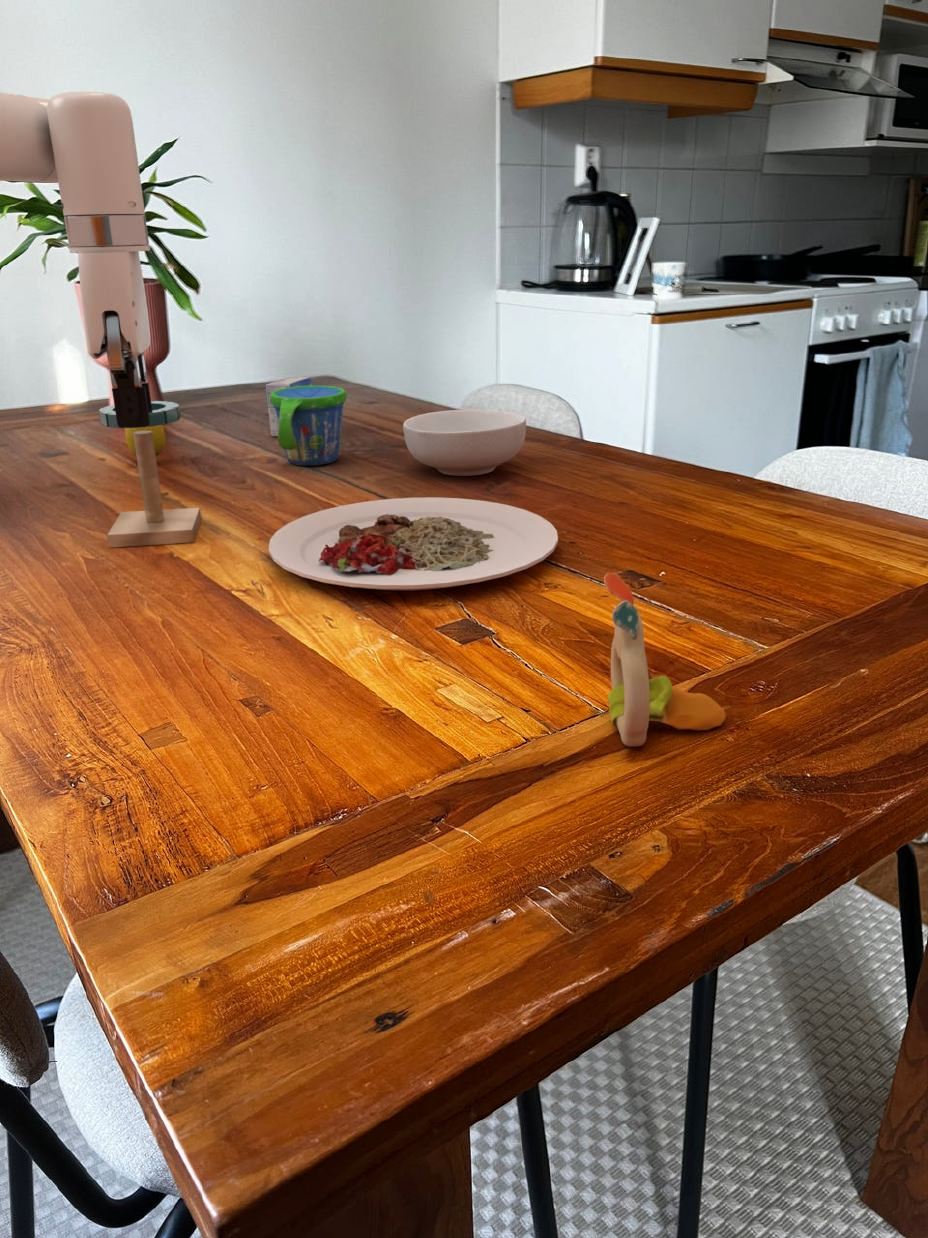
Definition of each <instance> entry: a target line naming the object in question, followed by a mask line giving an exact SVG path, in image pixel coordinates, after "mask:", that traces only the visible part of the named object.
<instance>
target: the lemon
mask: <svg viewBox="0 0 928 1238" xmlns="http://www.w3.org/2000/svg"><path fill="white" fill-rule="evenodd" d="M137 431H152V434H153V441H154V448H155V455H156V457H158V456H160V454H161V453H163V450H164V449H165V447H166V446H165V445H166V432H165V429H164V425H158V426H151V427H148V426H147V427H142V428H124V437H125V442H126V445H127V447H128V449H129V451H130V452H131V453H132V454H133V455H134V456H136V449H135V443H134V436H133V433H134V432H137Z"/></svg>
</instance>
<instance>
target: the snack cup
mask: <svg viewBox="0 0 928 1238" xmlns="http://www.w3.org/2000/svg"><path fill="white" fill-rule="evenodd" d="M347 396H348V395H347V392H346V390H345V389H344V388H342V387H339V386H332V385H312V386H297V387H289V388H283V389H279V390H276V391H273V392H272V393H271V395H270V401H271V404H273V406H274V408H275V410H276V413H277V419H278V421H279V431H278V437H277V443H278V446H279V447H280V448H281V449H283V450H284V452H285V456H286V458H287V462H288V463H291V464H294V465H295V466H301V467H304V466H305V467H314V466H315V467H316V466H324V465H329V464H332V463H334V462H336V460H338V459H339V457H340V451H341V441H342V439H341V438H342V424H343V416H344V415H343V414H344V412H343V411H344V404H345V402H346V400H347Z"/></svg>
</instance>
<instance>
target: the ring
mask: <svg viewBox="0 0 928 1238" xmlns="http://www.w3.org/2000/svg"><path fill="white" fill-rule="evenodd" d="M151 403H152V410H153V411H149V418H150V424H149V425H148V427H151V426H158V425H163V426H164V425H169V424H171V423H176V422H178V421H180V420H181V417H182V416H181V408H180V403H177V402H173V401H165V400H164V401H163V400H154V401H153V400H151ZM97 412H98V417H99V424H100V425H101V426H104V427H107V428H112V429H113V428H114V429H115V428H116V429H121V428H120V427H119V426H118V425H117V419H116V412H115V406H114V404H111V405H107V406H104V407H101V408H100V409H99V410H98V411H97ZM130 428H142V427H130Z"/></svg>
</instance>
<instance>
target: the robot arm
mask: <svg viewBox="0 0 928 1238" xmlns="http://www.w3.org/2000/svg"><path fill="white" fill-rule="evenodd" d="M0 182H23V183H24V182H27V183H28V182H29V183H39V184H40V183H41V184H58V190H59V195H60V196H59V197H60V202H61V209H62V213H63V216H64V217H63V219H64V225H65V232H66V237H67V244H68V250H69V254H78V257H77V258H78V277H79V288H80V297H81V305H82V314H83V322H84V331H85V338H86V339H85V340H86V347H87V352H88V355H89V356H90V357H91V358H92V359H94V360H97V359H100V358H101V357H103V356H105V355H106V357H107V358H106V359H107V364H108V369H109V370H108V371H109V377H110V383H111V392H112V397H113V405H114V406H115V412H116V419H117V425H118V426H119V427H120V428H119V429H125V428H130V427H147V426H148V425H149V424H150V418H149V411H153V410H152V403H151V401H152V398H151V391H150V390H151V389H150V383H149V382H148V376H147V375H148V374H147V369H146V368H147V367H146V361H145V354H144V352H145V351H146V350H147V349H149V348H150V347H151V344H152V343H151V327H150V318H149V311H148V304H147V295H146V288H145V283H144V276H143V269H142V264H141V257H140V252H149V251H151V248H150V240H149V234H148V233H149V232H148V227H147V219H146V211H145V203H144V195H143V187H142V181H141V173H140V167H139V159H138V151H137V145H136V137H135V128H134V123H133V116H132V111H131V109H130V106H129V104H128V103H127V101H126V100H125V99H123V98H122V97H121V96H118V95H116V94H113V93H107V92H101V91H100V92H99V91H68V92H61V93H57V94H55V95H53V96H52V97H51V98H50V99H47V98H39V97H33V96H27V95H21V94H13V93H8V92H0Z"/></svg>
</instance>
